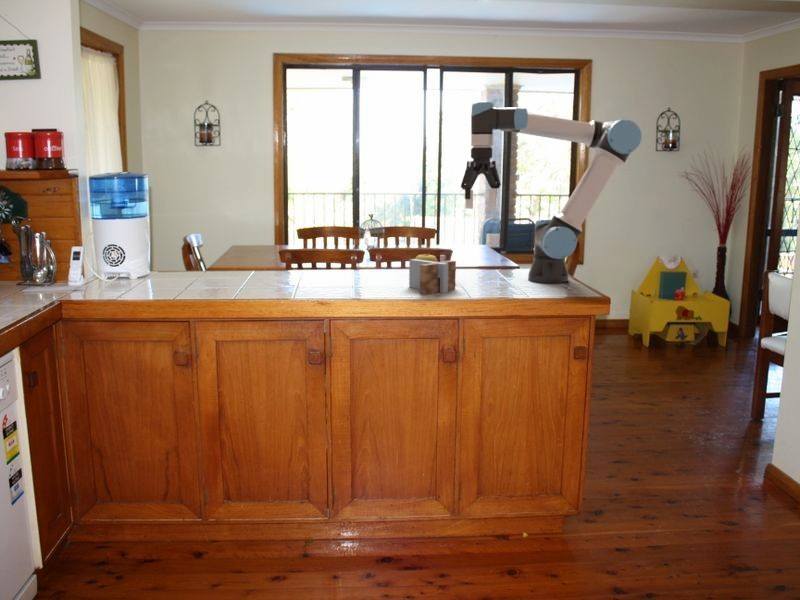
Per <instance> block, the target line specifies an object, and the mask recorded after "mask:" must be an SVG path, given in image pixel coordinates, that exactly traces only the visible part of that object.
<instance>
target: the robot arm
mask: <svg viewBox="0 0 800 600" xmlns="http://www.w3.org/2000/svg"><path fill="white" fill-rule="evenodd" d="M470 118H471V120H470V121H471V124H470V125H471V127H470V129H471V131H470V134H471V136H470V137H471V138H470V139H471V141H470V142H471V143H470V146H471V148H470V158H471V159H472V160H467V162H466V167H465V168H466V169H465V172H464V175H463V177H462V181H461V184H460V188H461V189H462V190H464V199H465V204H464V205H465V208H464V209H471V210H472V209H473V208H474V189H472V188H473V187H474V185H475V182H476V181H477V179H478V177H479V176H480V175H484V176H485V179H486V181H487V183H488V185H489V187H490V188H488V207H496V206H497V194H498V193H497V190H498V189H500V187H501V185H502V183H501V180H500V177H499V173H498V170H497V163H496V160H491V159H492V158H493V148H492V147H493V140H494V137H493V135H494V134H493V130H495V131H496V130H498V131H499V130H500V131H501V132H510V133H511V132H512V133H519V134H524V135H529V136H536V137H543V138H549V139H555V140H561V141H566V142H573V143H579V144H584V145H585V146H586V147H587V148H591V149H592V148H593V149H594V150H595V155H594V157H593V159H592V160H591V162H590V163H589V165H588V167H587V169H585V172H584V173H583V175H582V177H581V178H580V180H579V181H578V184H576V186H575V189H574V190H573V191H572V193H571V195H570V197H569V198H568V200H567V202H566V203H565V205H564V206H563V209H562V210H561V211H560V213H557V214H554V215H553V217H552V218H551V219H538V220H536V222H535V226H534V247H533V248H534V249H533V261H532V262H531V266H530V269H529V271H528V275H527V276H528V277H527V278H528V281H531V282H534V283H541V284H542V283H543V284H561V283H560V282H564V283H567V282H566V281H568V280H569V279H570V277H569V275H570V274H569V272H568V271H569V270H568V267H567V263H566V258H568V257H569V256H571V255H572V254H573V253H574V252H575V250H576V248H577V246H578V245H577V244H578V239H579V237H580V236H581V235H582V233H583V228H582V224H583V223H584V222H585V220H586V218H587V216H588V215H589V213H590V212H591V211H592V208H593V207H594V204H595V203H596V201H597V200H598V198H599V197H600V196H601V194H602V192H603V190H604V189H605V187H606V185H607V184H608V182H609V181H610V179H611V177H612V176H613V174H614V172H615V171H616V169H617V168H618V167H619V166H623V165H625V162H626V161H627V160H628V158H629V156H630V154H631V153H633V152H634V151H636V149H638V147H639V146H640V145H641V142H642V131H641V129H640V127H639V125H638V123H636V122H635V121H633V120H630V119H628V118H627V119H626V118H620V119H616V120H610V121H609V120H608V121H597V120H591V121H589V122H586V121H581V120H573V119H567V118H561V117H556V116H549V115H541V114H537V113H536V114H535V113H531V112H529V113H528V109H527V108H526V107H518V106H517V107H494V103H493V102H492V101H476V102H473V103H472V105H471V117H470ZM568 282H569V281H568Z"/></svg>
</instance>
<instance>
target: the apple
mask: <svg viewBox="0 0 800 600" xmlns="http://www.w3.org/2000/svg"><path fill="white" fill-rule="evenodd" d="M414 259H418V260H425V261H433V262H439V261H438V259H437V257H436V256H435V255H432V254H429V253H427V254H426V253H425V254H418V255H417V256H416V257H415V258H414Z"/></svg>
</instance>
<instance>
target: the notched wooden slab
mask: <svg viewBox="0 0 800 600" xmlns="http://www.w3.org/2000/svg"><path fill="white" fill-rule="evenodd" d="M439 262H440V261H439ZM440 263H447V264H448V291H451V290H452V291H453V290H455V289H456V275H457V273H456V271H457V266H456V265H457V264H456V263H457V261H456V260H451V259H450V260H445V261H443V262H440ZM435 293H436V294H437V293H440V278H437V264H435V263H429V264H422V265H420V289H419V294H420V295H424V296H425V295H431V294H435Z"/></svg>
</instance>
